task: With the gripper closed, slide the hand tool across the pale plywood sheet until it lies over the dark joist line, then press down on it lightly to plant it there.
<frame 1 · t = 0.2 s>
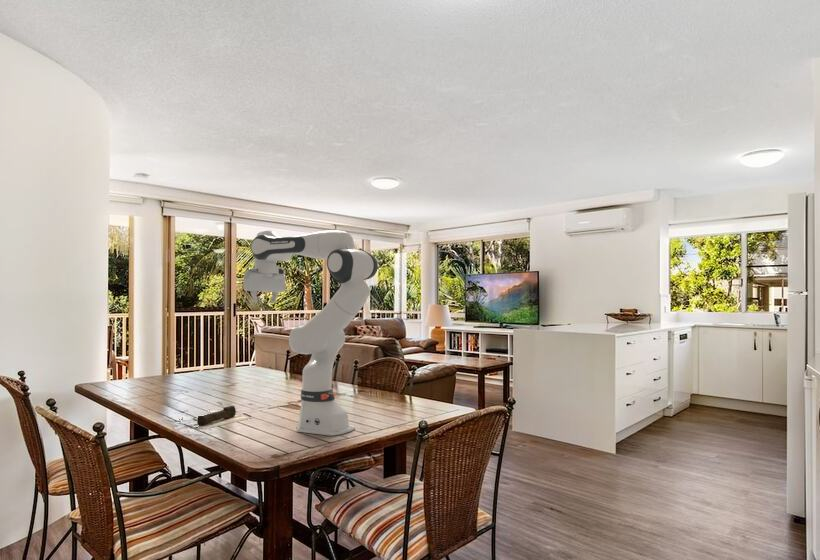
hand: (264, 302, 207), 47 cm above the table, tool pointing down, fingers open, 8 cm apart
hand tool: (217, 421, 195), resting on sheet
sheet: (206, 418, 199), on the table
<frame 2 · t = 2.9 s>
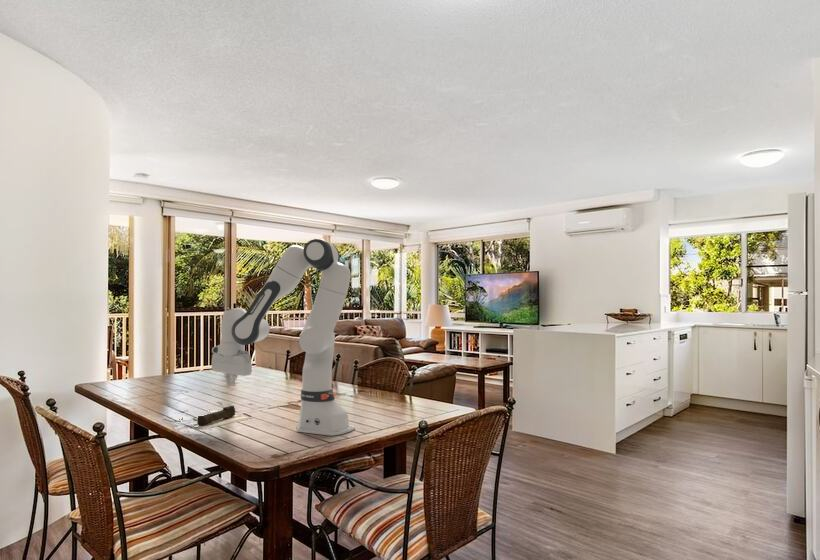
hand: (230, 385, 192), 15 cm above the table, tool pointing down, fingers closed
nothing on the table moved.
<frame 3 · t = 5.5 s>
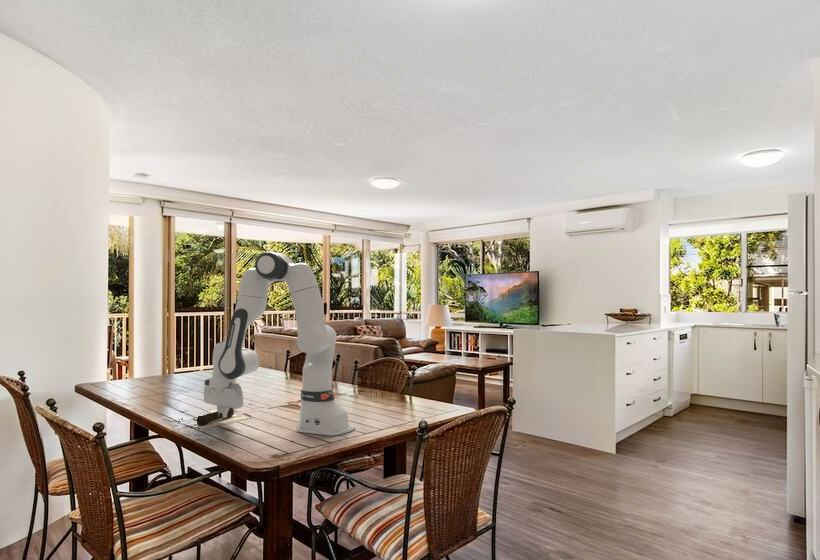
hand: (222, 417, 193), 2 cm above the table, tool pointing down, fingers closed
hand tool: (216, 421, 195), resting on sheet, touching gripper
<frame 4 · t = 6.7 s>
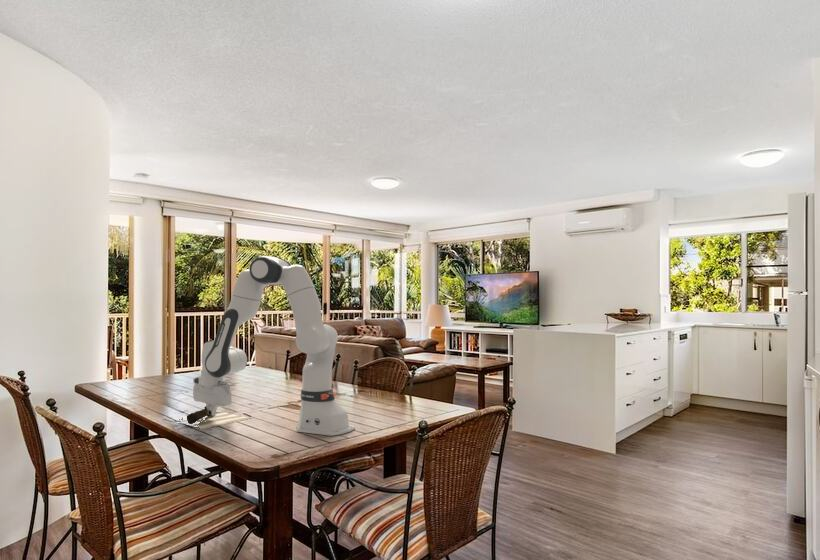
hand: (211, 414, 197), 2 cm above the table, tool pointing down, fingers closed
hand tool: (203, 419, 197), resting on sheet, touching gripper
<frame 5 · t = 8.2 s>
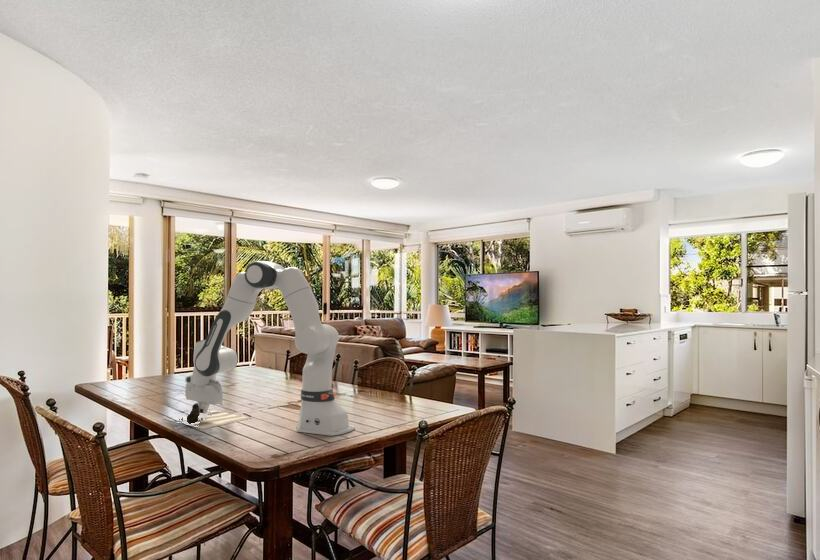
hand: (203, 413, 200), 2 cm above the table, tool pointing down, fingers closed
hand tool: (193, 418, 198), resting on sheet, touching gripper
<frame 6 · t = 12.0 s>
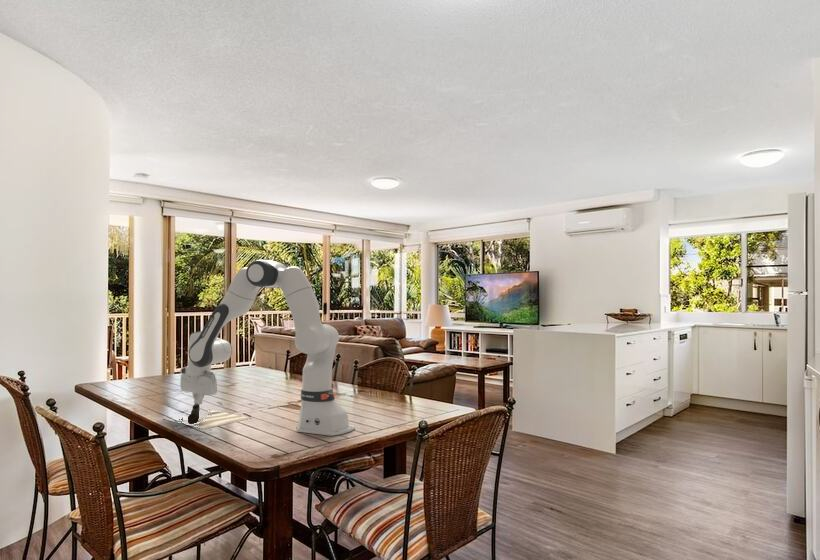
hand: (198, 404, 203), 5 cm above the table, tool pointing down, fingers closed
hand tool: (193, 419, 198), resting on sheet
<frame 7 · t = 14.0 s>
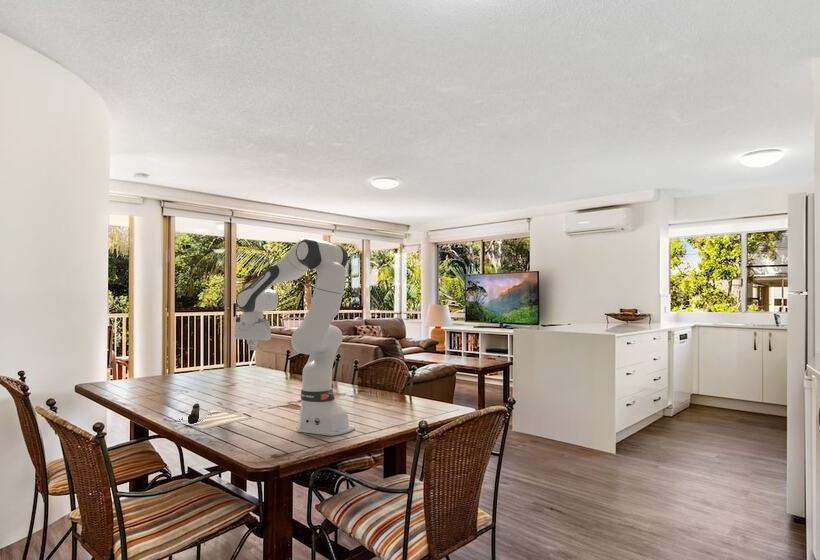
hand: (252, 350, 218), 26 cm above the table, tool pointing down, fingers closed
nothing on the table moved.
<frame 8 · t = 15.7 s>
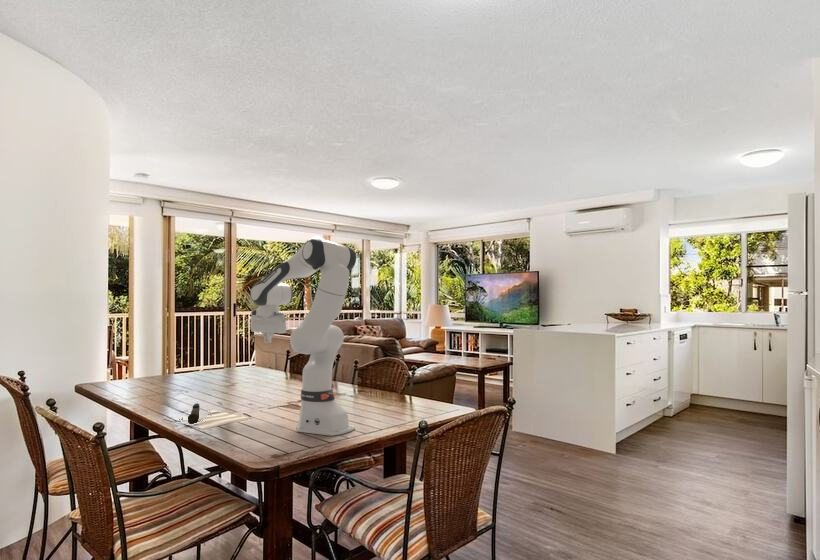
hand: (267, 342, 222), 29 cm above the table, tool pointing down, fingers closed
nothing on the table moved.
at the end: hand tool inside the target area on the sheet (4.0 cm from its centre), point 0.0 cm above the sheet's base; hand tool moved 11.3 cm from its start; the gripper is holding nothing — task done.
